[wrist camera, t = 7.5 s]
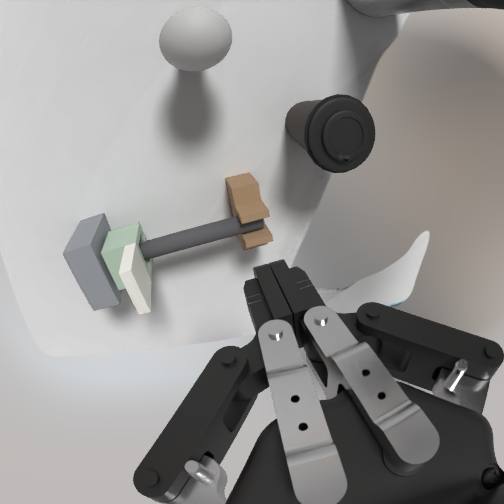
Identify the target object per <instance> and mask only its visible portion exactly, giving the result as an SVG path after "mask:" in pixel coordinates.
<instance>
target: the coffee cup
mask: <svg viewBox="0 0 504 504" xmlns="http://www.w3.org/2000/svg"><path fill="white" fill-rule="evenodd" d="M286 128H287V132H288V133H289V135H290V136H291V137H292V138H293V139H294V140H295V141H296V142H298V143H299V144H300V145H301V146H302V147H303V148H304V149H306V150H307V152H308V154H309V156H310V157H311V159H312V160H313V161H314V163H315V164H317V165H318V166H319V167H321V168H322V169H323V170H326V171H329V172H333V173H343V172H347V171H349V170H352V169H355V168H356V167H358V166H359V165H361V164H362V163H363V162H364V161H365V160H366V158H367V157H368V156H369V154H370V152H371V150H372V148H373V145H374V141H375V126H374V122H373V118H372V117H371V114H370V113H369V111H368V109H367V108H366V107H365V106H364V105H363V104H362V103H361V102H360V101H359V100H358V99H355V98H353V97H351V96H349V95H338V94H337V95H334V96H330V97H327V98H325V99H323V100H315V101H305V102H300V103H297V104H296V105H294V106H293V107H292V108H291V109H290V110H289V112H288V113H287V117H286Z"/></svg>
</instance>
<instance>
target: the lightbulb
mask: <svg viewBox="0 0 504 504" xmlns="http://www.w3.org/2000/svg"><path fill="white" fill-rule="evenodd" d="M231 43H232V31H231V28H230V25H229V23H228V22H227V20H226V19H225V18H224V17H223V16H222V15H221V14H220V13H218V12H217V11H214V10H212V9H209V8H205V7H192V8H187V9H184V10H181V11H179V12H177V13H176V14H174V15H173V16H172V17H171V18H170V19H169V20H168V21H167V22H166V23H165V25H164V26H163V28H162V30H161V33H160V39H159V44H160V49H161V52H162V54H163V56H164V58H165V59H166V60H167V61H168V62H169V63H170V64H171V65H173V66H174V67H176V68H178V69H181V70H185V71H202V70H205V69H209V68H211V67H213V66H215V65H216V64H218V63H219V62H220V61H221V60H222V59H223V58H224V57H225V56H226V55H227V53H228V51H229V49H230V46H231Z"/></svg>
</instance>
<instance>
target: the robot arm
mask: <svg viewBox="0 0 504 504" xmlns="http://www.w3.org/2000/svg"><path fill="white" fill-rule="evenodd" d="M347 1H348V2H349V3H350V4H351V5H352V6H353V7H354V8H355V9H356V10H358V11H359V12H361V13H363V14H365V15H368V16H371V17H382V16H388V15H394V14H401V13H409V12H416V11H425V10H437V9H454V8H495V9H504V0H347ZM253 271H254V276H255V278H254V279H251V280H247V281H245V285H244V293H245V297H246V301H247V305H248V309H249V313H250V316H251V319H252V322H253V325H254V328H255V331H256V335H255V337H254V339H253V340H252V341H251V342H250V343H249V344H247V345H245V346H244V347H242V348H239V347H236V346H227V347H223V348H221V349H219V350H218V351H217V352H216V353H215V354H214V355H213V357H212V358H211V360H210V361H209V363H208V364H207V366H206V367H205V369H204V370H203V372H202V373H201V375H200V376H199V378H198V379H197V381H196V382H195V384H194V386H193V387H192V388H191V390H190V391H189V393H188V394H187V396H186V397H185V399H184V400H183V402H182V404H181V405H180V406H179V408H178V409H177V411H176V412H175V414H174V415H173V417H172V418H171V420H170V421H169V423H168V424H167V426H166V427H165V429H164V430H163V432H162V433H161V434H160V436H159V437H158V439H157V440H156V442H155V443H154V445H153V446H152V448H151V449H150V450H149V452H148V453H147V455H146V456H145V458H144V459H143V460H142V462H141V463H140V465H139V466H138V468H137V469H136V471H135V473H134V477H133V481H134V485H135V487H136V489H137V490H138V492H140V493H141V494H142V495H144V496H146V497H149V498H151V499H152V500H154V501H156V502H159V503H162V504H504V471H503V470H502V469H501V468H500V467H499V466H498V464H497V461H496V457H495V453H494V445H493V433H492V428H491V426H490V424H489V422H488V420H487V419H486V418H485V417H484V416H483V415H482V412H483V408H484V404H485V400H486V396H487V392H488V387H489V383H490V379H491V378H492V376H493V375H494V374H495V372H496V371H497V369H498V368H499V367H500V365H501V364H502V362H503V359H504V353H503V350H502V348H501V347H500V345H499V344H497V343H496V342H494V341H491V340H488V339H485V338H482V337H479V336H476V335H473V334H470V333H467V332H464V331H461V330H458V329H455V328H452V327H448V326H446V325H442V324H440V323H436V322H433V321H430V320H427V319H424V318H421V317H418V316H415V315H412V314H409V313H406V312H403V311H400V310H397V309H394V308H391V307H388V306H385V305H382V304H379V303H375V302H369V303H365V304H363V305H361V306H360V307H359V308H358V310H357V313H346V314H342V313H336V312H335V311H334V310H333V309H331V308H329V307H326V305H325V304H324V302H323V300H322V299H321V297H320V295H319V294H318V292H317V290H316V289H315V287H314V286H313V284H312V283H311V281H310V280H309V278H308V276H307V274H306V273H305V272H304V271H303V270H302V269H300V268H298V267H293V268H290V269H289V268H288V266H287V264H286V262H285V261H284V259H283V260H279V261H275V262H272V263H269V264H265V265H261V266H257V267H254V268H253ZM302 347H304V349H305V351H306V359H307V362H308V364H309V366H310V367H311V369H312V371H313V373H314V375H315V376H316V378H317V380H318V382H319V383H320V385H321V387H322V389H323V390H324V393H325V395H326V399H327V400H320V401H319V399H318V396H317V393H316V390H315V387H314V384H313V381H312V379H311V375H310V372H309V369H308V367H307V365H305V364H304V362H303V359H302V356H301V353H300V350H299V348H302ZM393 377H394V378H397V379H400V380H402V381H405V382H408V383H410V384H413V385H416V386H419V387H421V388H424V389H427V390H430V391H432V392H433V395H431V394H429V393H426V392H424V391H422V390H419V389H416V388H414V387H412V386H409V385H407V384H404V383H402V382H398V381H395V379H394V378H393ZM269 386H270V391H271V395H272V399H273V404H274V408H275V412H276V416H277V419H275V420H274V421H273V422H271V423H270V424H269V425H268V426H267V427H266V428H265V429H264V430H263V431H262V433H261V434H260V436H259V437H258V439H257V441H256V443H255V445H254V447H253V449H252V451H251V454H250V456H249V458H248V460H247V462H246V464H245V466H244V468H243V470H242V472H241V474H240V476H239V478H238V480H237V482H236V484H235V486H234V488H233V490H232V492H231V493H230V495H229V497H228V499H227V500H226V498H225V495H224V489H225V486H226V483H227V474H226V472H225V470H224V469H223V468H222V467H221V466H220V463H221V462H222V460H223V458H224V457H225V455H226V453H227V451H228V450H229V448H230V446H231V444H232V443H233V441H234V439H235V437H236V435H237V434H238V432H239V430H240V428H241V426H242V424H243V422H244V421H245V419H246V417H247V415H248V413H249V412H250V410H251V408H252V406H253V404H254V402H255V400H256V398H257V395H258V393H260V392H262V391H263V390H264V389H266V388H268V387H269Z"/></svg>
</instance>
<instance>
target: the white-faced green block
mask: <svg viewBox="0 0 504 504" xmlns="http://www.w3.org/2000/svg"><path fill="white" fill-rule="evenodd" d="M145 241H146V238H145V236H144V233H143V230H142V227H141V225H140V222H137V223H134V224H131V225H127V226H124V227H121V228H118V229H115V230H111V231H109V232H108V234H107V237H106V240H105V243H104V246H103V249H102V251H101V254H102V256H103V259H104V261H105V263H106V265H107V267H108V269H109V271H110V273H111V276H112V278H113V280H114V282H115V284H116V286H117V288H118V290H122V289H126V290H127V292H128V294H129V296H130V298H131V300H132V302H133V304H134V306H135V308H136V309H137V311H138V313H139V315H140V314H144V313H148V312H151V281H152V262H153V258H151V259H147V260H144V257H143V255H142V252H141V250H140V247H139V243H141V242H145Z"/></svg>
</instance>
